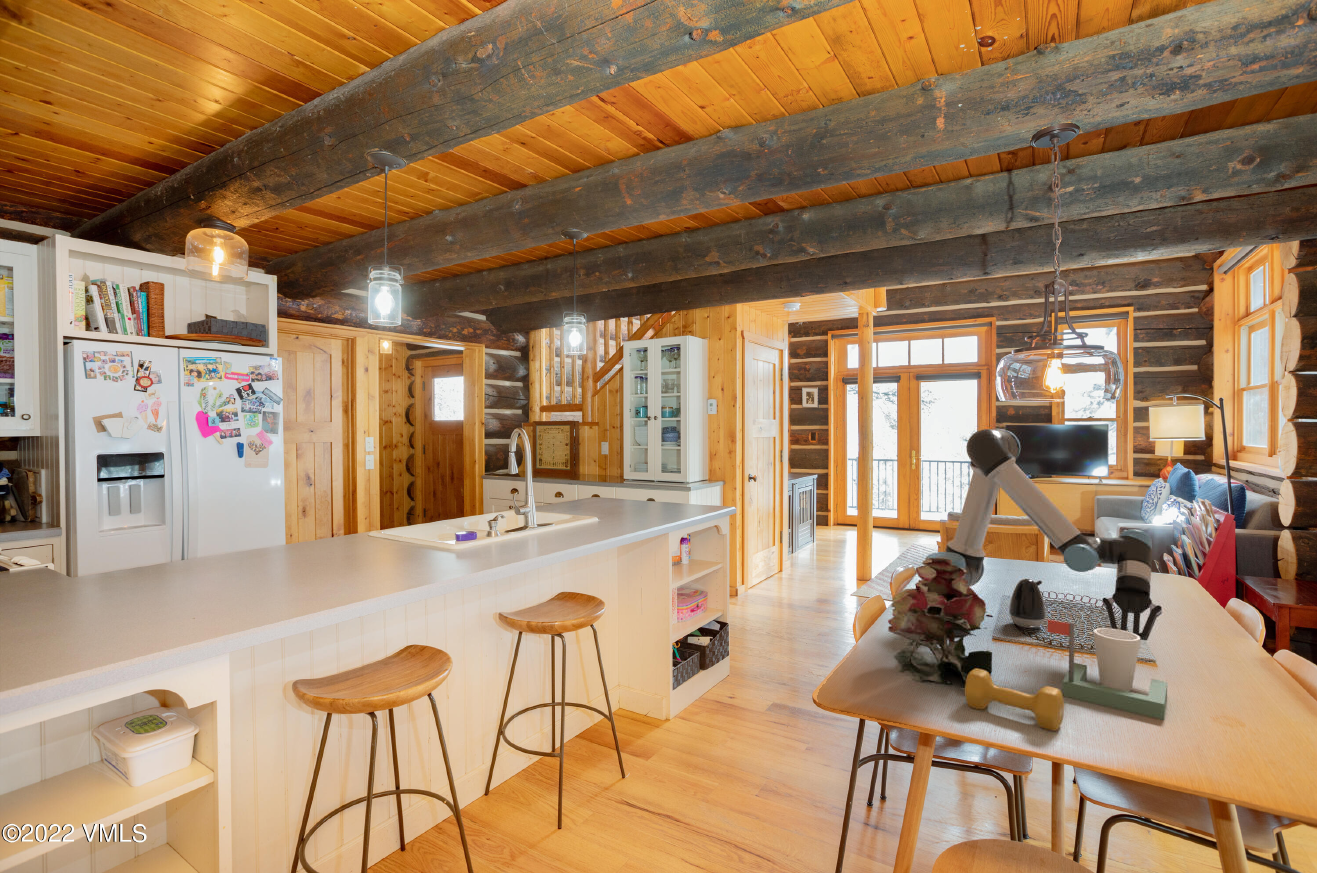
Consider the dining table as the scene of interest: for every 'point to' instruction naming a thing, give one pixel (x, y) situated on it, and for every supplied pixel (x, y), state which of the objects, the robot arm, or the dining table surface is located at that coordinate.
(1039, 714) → the dumbbell
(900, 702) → the dining table surface
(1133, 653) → the foam cup
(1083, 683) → the putting pocket
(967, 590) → the rose bouquet
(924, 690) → the dining table surface
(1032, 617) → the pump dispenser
